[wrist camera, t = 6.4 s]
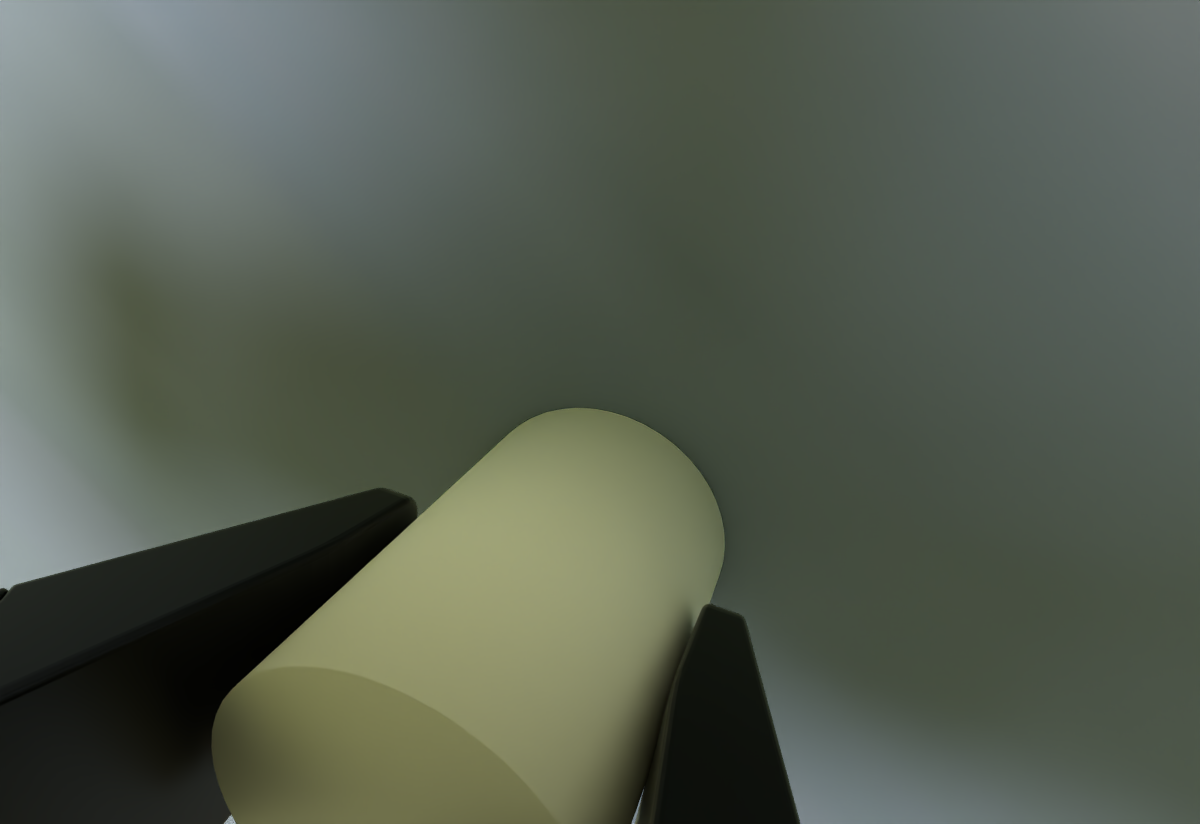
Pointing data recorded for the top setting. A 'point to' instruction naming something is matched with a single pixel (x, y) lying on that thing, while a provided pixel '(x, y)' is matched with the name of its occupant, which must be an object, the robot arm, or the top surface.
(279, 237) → the top surface
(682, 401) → the top surface
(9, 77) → the top surface
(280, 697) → the block
